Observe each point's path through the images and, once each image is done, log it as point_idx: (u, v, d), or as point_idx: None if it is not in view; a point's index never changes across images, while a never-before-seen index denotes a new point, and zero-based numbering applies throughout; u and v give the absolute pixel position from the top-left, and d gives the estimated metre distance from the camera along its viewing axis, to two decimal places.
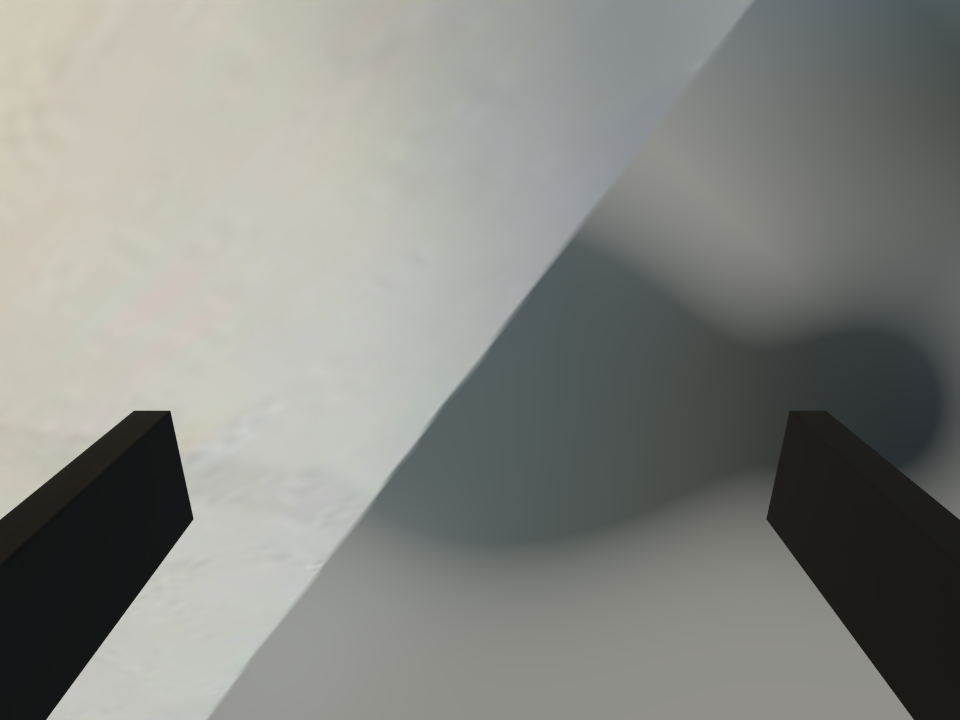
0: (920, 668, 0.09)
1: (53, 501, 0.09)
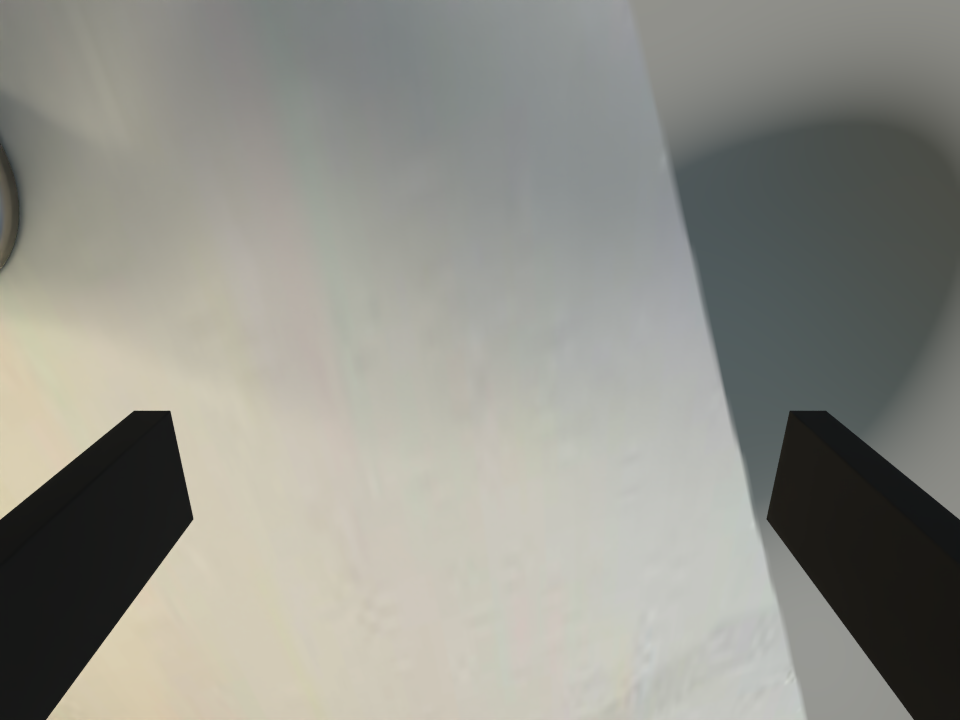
0: (919, 667, 0.09)
1: (53, 501, 0.09)
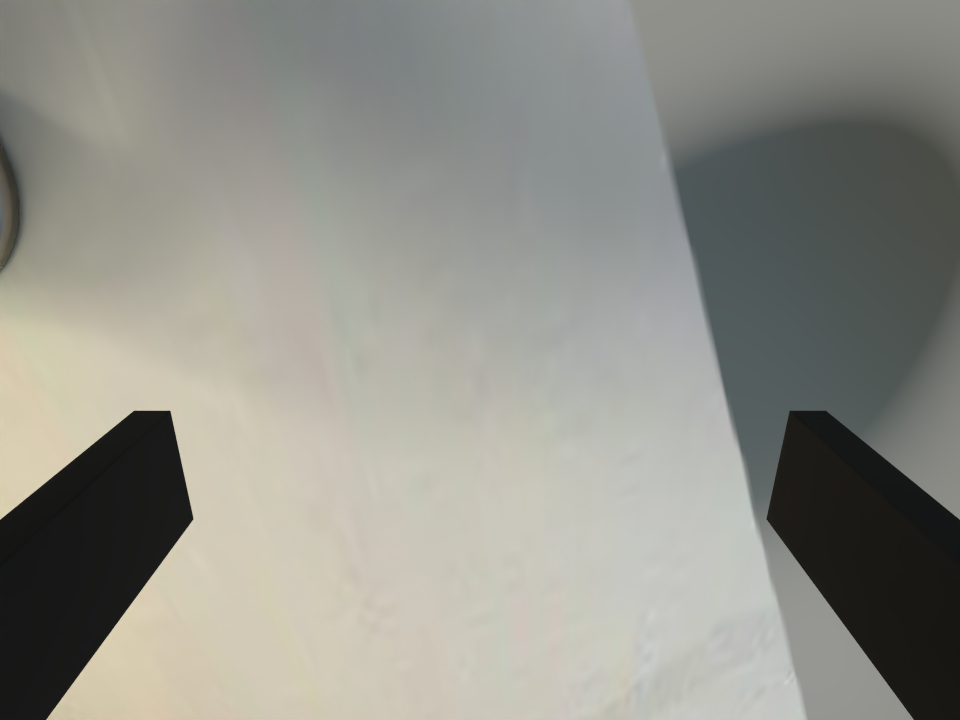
0: (919, 667, 0.09)
1: (53, 501, 0.09)
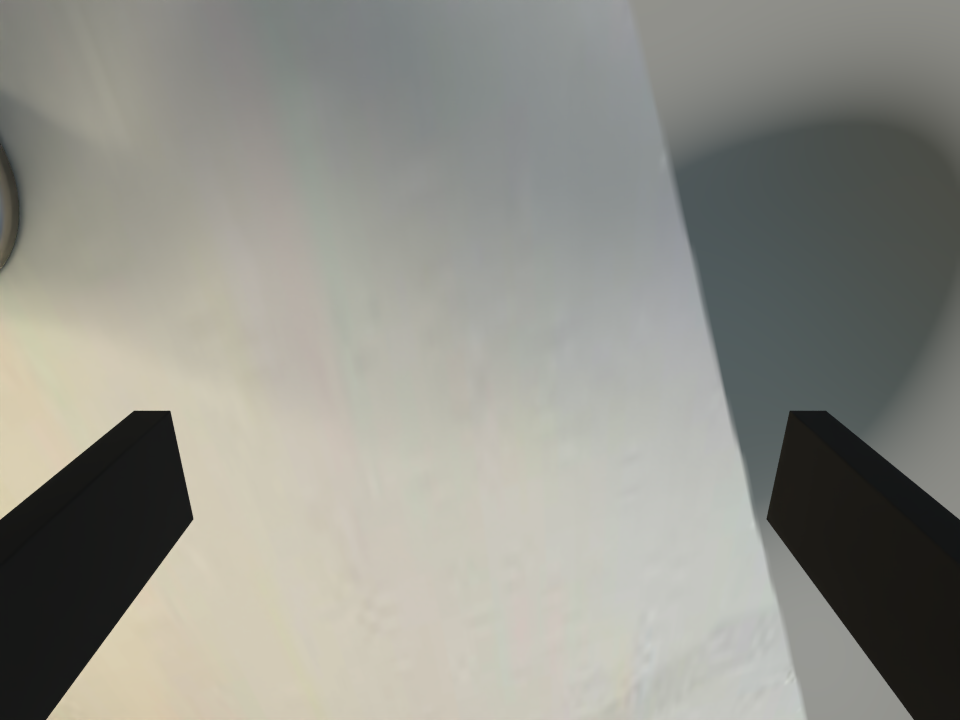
0: (919, 667, 0.09)
1: (53, 501, 0.09)
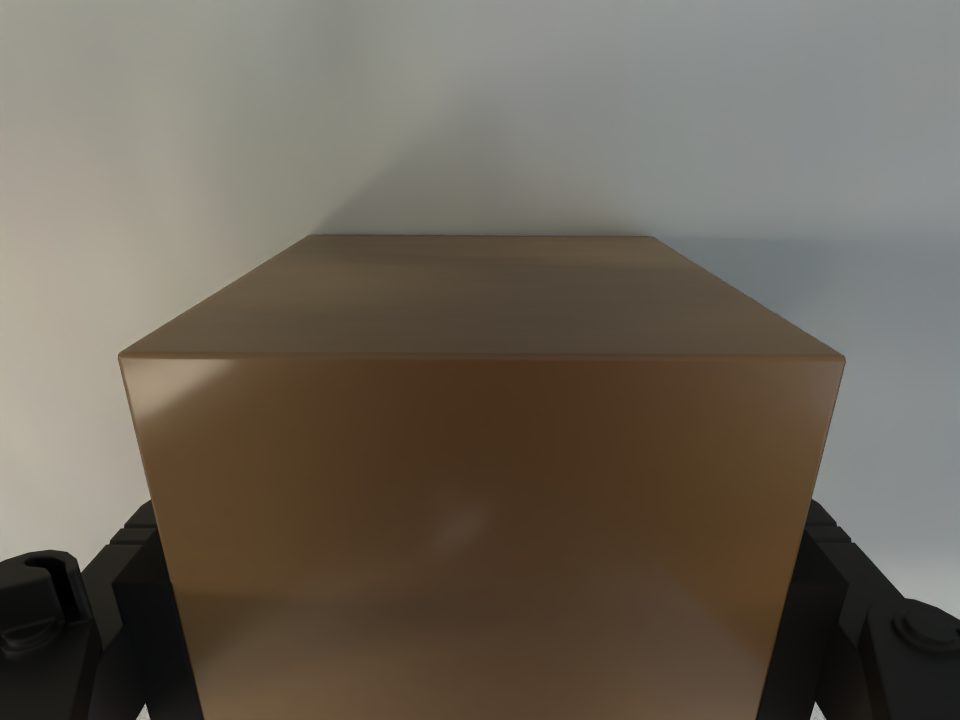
0: None
1: None
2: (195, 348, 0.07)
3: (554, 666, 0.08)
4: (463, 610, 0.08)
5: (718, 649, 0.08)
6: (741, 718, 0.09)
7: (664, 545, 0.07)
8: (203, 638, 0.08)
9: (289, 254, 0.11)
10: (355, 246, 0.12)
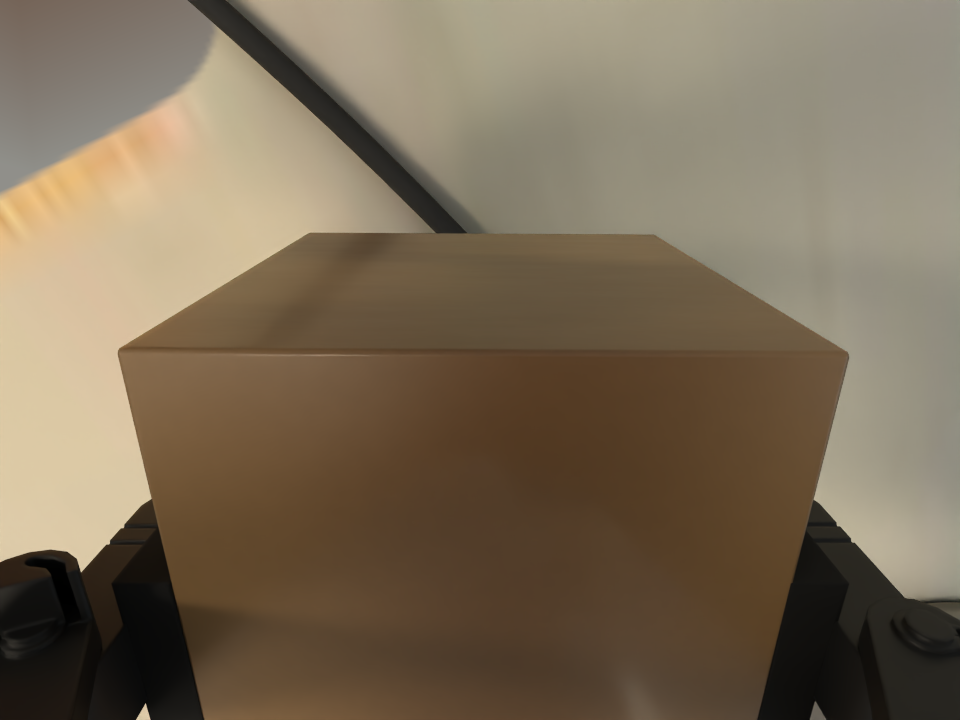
0: None
1: None
2: (196, 344, 0.07)
3: (557, 664, 0.08)
4: (464, 608, 0.08)
5: (720, 646, 0.08)
6: (743, 716, 0.08)
7: (665, 542, 0.07)
8: (203, 636, 0.08)
9: (289, 251, 0.11)
10: (356, 244, 0.12)
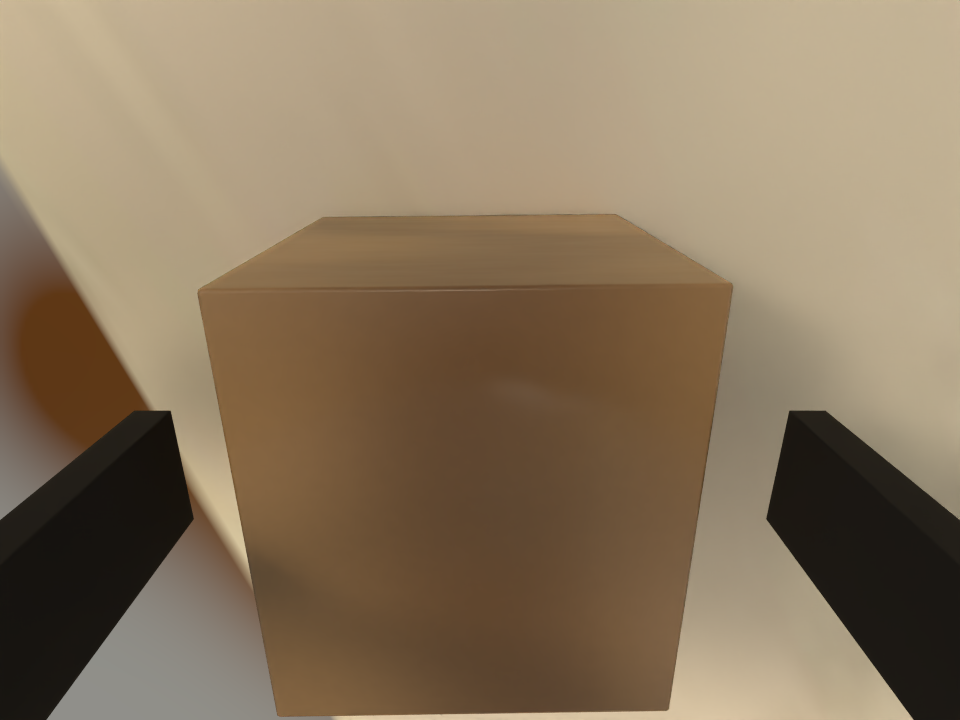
0: (919, 667, 0.09)
1: (53, 501, 0.09)
2: (253, 286, 0.09)
3: (529, 538, 0.10)
4: (456, 492, 0.10)
5: (654, 521, 0.10)
6: (676, 581, 0.11)
7: (607, 435, 0.10)
8: (255, 519, 0.10)
9: (309, 230, 0.14)
10: (363, 224, 0.15)
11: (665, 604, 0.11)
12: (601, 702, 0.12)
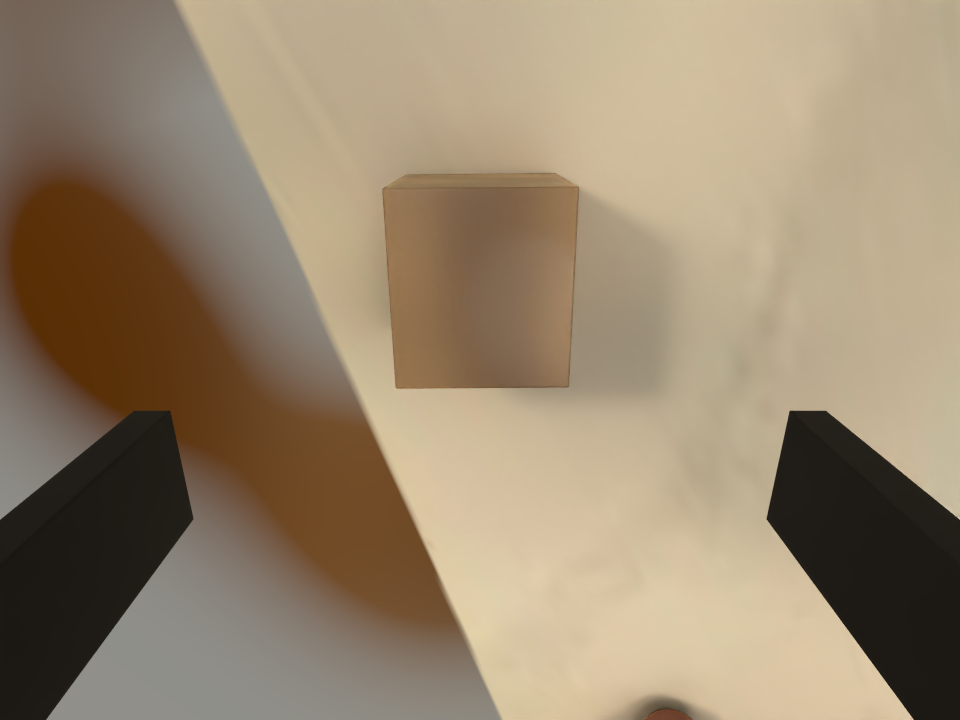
0: (919, 667, 0.09)
1: (53, 501, 0.09)
2: (402, 187, 0.24)
3: (505, 296, 0.26)
4: (476, 274, 0.25)
5: (555, 288, 0.26)
6: (567, 318, 0.26)
7: (535, 249, 0.25)
8: (395, 286, 0.26)
9: (404, 177, 0.29)
10: (428, 176, 0.30)
11: (563, 329, 0.26)
12: (538, 381, 0.27)
